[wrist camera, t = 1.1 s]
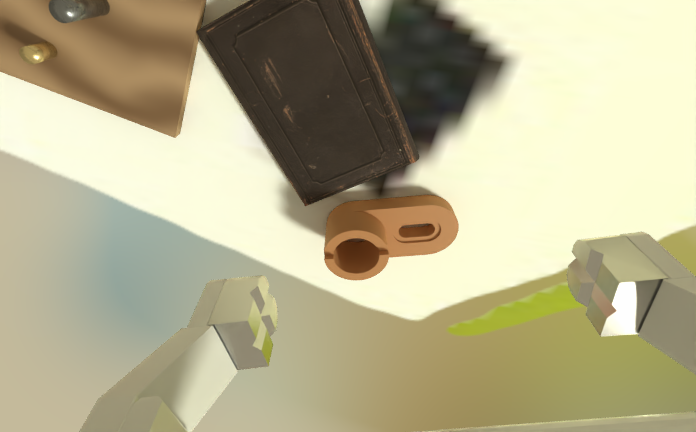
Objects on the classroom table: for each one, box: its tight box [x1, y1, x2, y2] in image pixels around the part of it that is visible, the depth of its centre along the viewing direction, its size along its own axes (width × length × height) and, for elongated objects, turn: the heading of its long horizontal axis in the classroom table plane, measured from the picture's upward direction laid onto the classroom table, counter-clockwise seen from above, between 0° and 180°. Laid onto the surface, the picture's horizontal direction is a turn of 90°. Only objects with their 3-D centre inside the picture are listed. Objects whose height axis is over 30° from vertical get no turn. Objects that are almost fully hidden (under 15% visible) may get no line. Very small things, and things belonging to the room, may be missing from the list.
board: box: [0, 0, 206, 138], centre depth 37 cm, size 20×20×2 cm
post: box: [49, 0, 110, 23], centre depth 34 cm, size 2×2×6 cm
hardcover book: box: [196, 0, 419, 206], centre depth 42 cm, size 16×23×2 cm
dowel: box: [19, 42, 57, 64], centre depth 37 cm, size 2×2×3 cm
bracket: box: [324, 195, 458, 280], centre depth 50 cm, size 18×8×7 cm, turn 96°
